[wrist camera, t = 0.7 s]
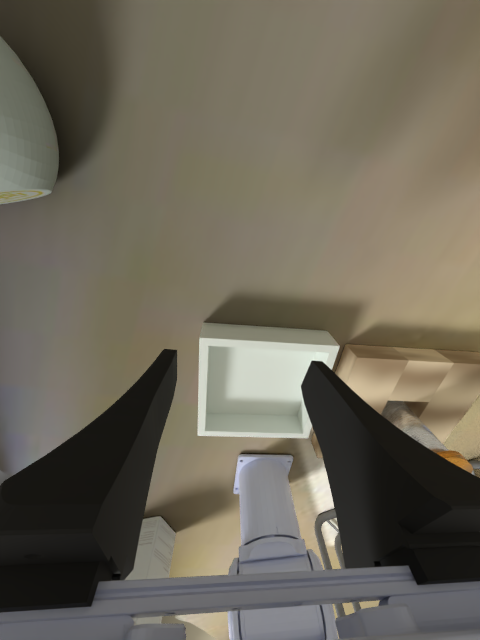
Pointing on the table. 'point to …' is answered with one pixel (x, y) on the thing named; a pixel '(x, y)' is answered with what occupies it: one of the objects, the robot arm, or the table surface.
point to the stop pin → (421, 432)
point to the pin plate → (413, 382)
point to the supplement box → (153, 556)
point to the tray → (257, 379)
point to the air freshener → (24, 134)
